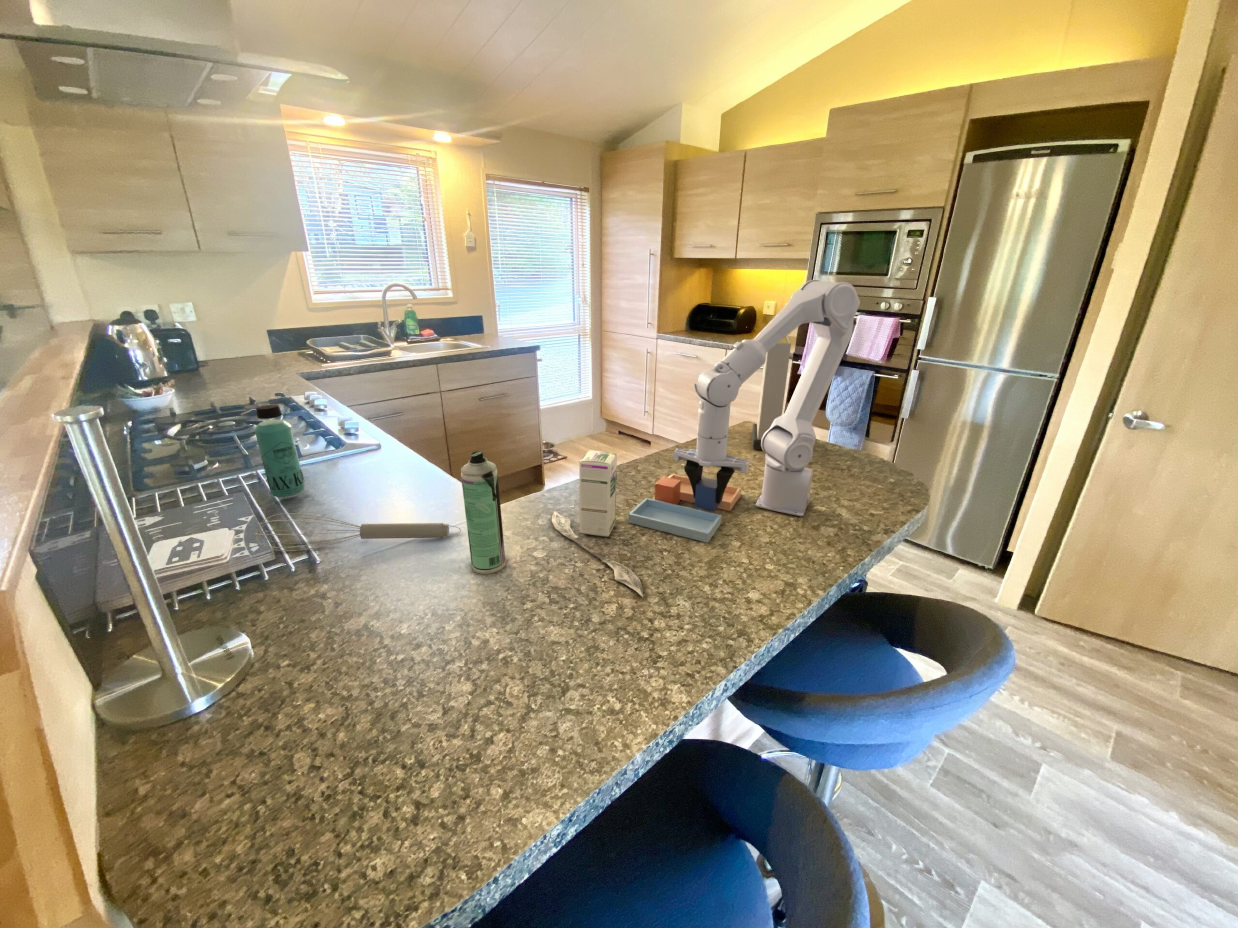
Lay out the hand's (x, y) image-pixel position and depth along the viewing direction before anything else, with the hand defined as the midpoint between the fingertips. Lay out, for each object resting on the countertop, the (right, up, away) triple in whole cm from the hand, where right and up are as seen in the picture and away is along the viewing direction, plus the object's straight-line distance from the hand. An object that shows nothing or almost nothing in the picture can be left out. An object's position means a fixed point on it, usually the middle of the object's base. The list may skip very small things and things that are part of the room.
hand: (707, 498), depth 102 cm
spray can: (-39, -10, -16) cm, 44 cm away
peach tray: (0, 0, +9) cm, 9 cm away
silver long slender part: (-22, -8, -12) cm, 27 cm away
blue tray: (-7, -5, -3) cm, 9 cm away
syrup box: (-22, -5, -5) cm, 23 cm away
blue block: (0, -1, 0) cm, 1 cm away
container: (+23, +13, +40) cm, 48 cm away
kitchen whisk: (-64, -7, -10) cm, 65 cm away
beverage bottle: (-87, 0, +7) cm, 88 cm away
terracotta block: (-8, -1, +5) cm, 9 cm away
